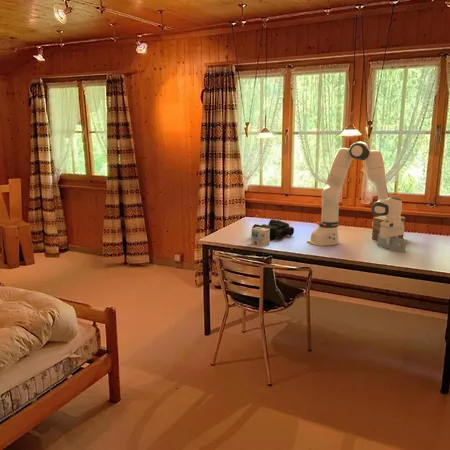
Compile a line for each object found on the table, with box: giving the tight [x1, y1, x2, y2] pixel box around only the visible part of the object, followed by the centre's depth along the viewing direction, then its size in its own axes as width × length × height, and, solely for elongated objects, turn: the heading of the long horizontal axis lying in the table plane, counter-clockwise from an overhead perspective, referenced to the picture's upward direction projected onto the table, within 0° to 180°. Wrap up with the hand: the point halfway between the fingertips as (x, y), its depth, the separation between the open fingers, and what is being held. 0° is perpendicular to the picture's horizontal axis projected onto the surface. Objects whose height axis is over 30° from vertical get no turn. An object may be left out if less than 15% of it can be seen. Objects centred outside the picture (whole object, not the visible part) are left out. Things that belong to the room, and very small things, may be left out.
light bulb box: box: [250, 227, 270, 247], centre depth 295 cm, size 11×7×11 cm, turn 56°
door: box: [376, 234, 408, 254], centre depth 284 cm, size 20×4×8 cm, turn 31°
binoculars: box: [251, 219, 295, 241], centre depth 315 cm, size 29×20×10 cm
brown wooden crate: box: [371, 216, 406, 241], centre depth 306 cm, size 20×15×15 cm
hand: (391, 243), depth 284 cm, fingers open, 4 cm apart
